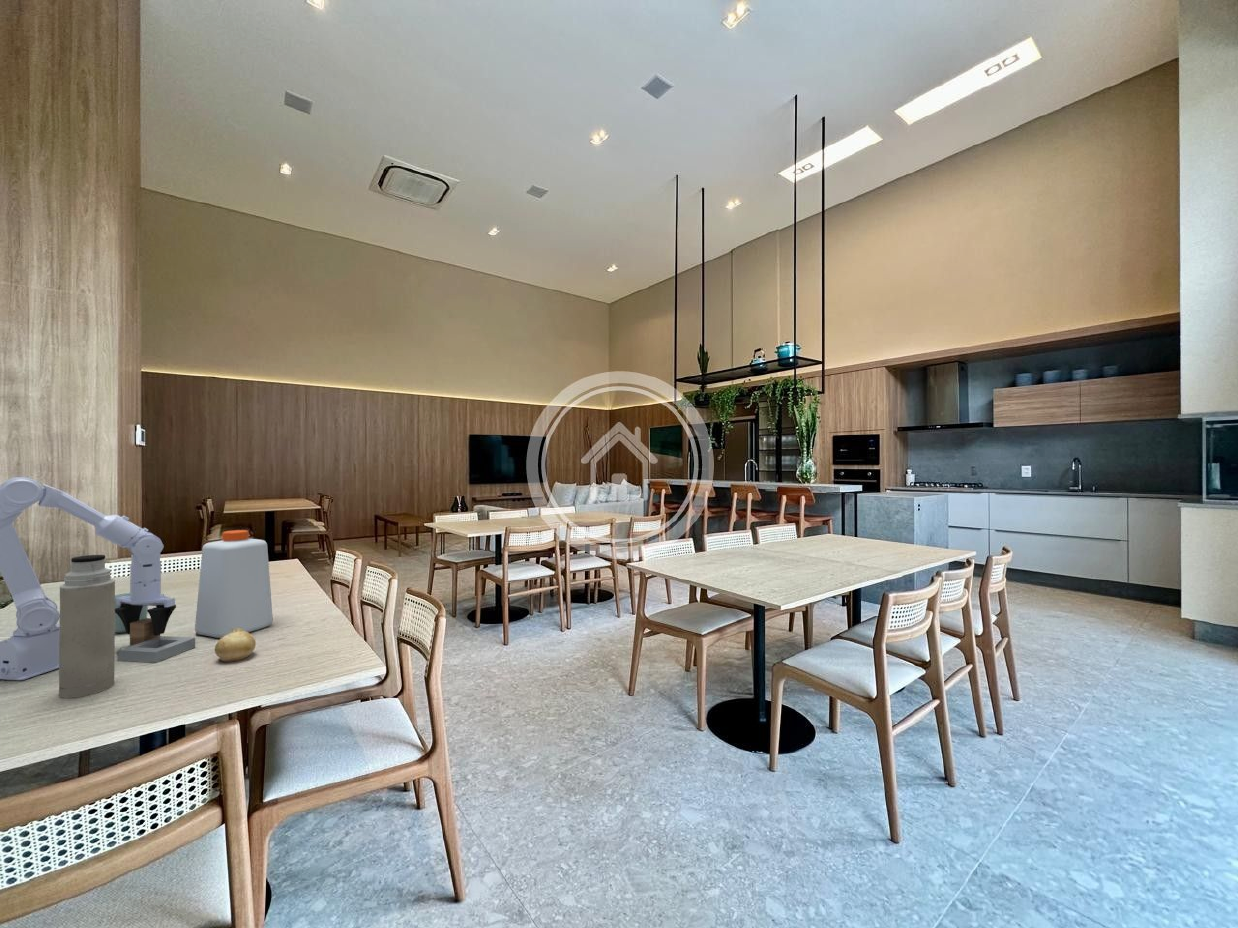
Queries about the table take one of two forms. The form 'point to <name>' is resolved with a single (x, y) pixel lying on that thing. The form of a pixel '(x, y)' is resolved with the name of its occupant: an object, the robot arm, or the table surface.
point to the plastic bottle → (233, 586)
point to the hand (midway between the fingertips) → (145, 633)
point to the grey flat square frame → (156, 649)
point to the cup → (118, 622)
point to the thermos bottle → (86, 628)
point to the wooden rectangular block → (141, 631)
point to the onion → (235, 645)
